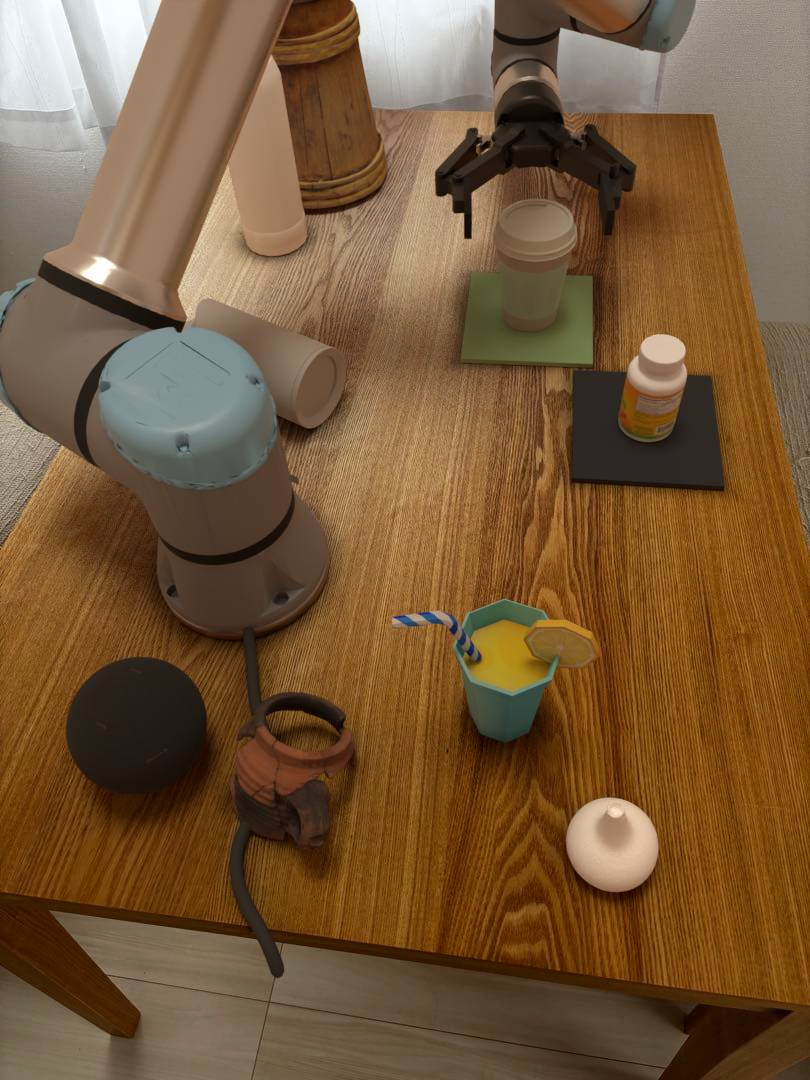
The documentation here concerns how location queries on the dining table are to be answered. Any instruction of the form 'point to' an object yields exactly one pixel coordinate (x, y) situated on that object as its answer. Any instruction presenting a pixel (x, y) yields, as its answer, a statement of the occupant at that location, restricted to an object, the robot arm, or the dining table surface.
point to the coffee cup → (533, 260)
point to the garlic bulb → (612, 844)
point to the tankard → (328, 104)
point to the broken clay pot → (288, 773)
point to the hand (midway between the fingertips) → (538, 225)
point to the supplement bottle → (653, 389)
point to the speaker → (136, 725)
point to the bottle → (268, 173)
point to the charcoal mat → (626, 461)
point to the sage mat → (548, 347)
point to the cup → (509, 660)
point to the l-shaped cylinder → (282, 361)
